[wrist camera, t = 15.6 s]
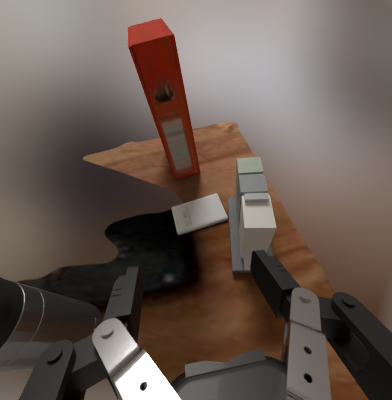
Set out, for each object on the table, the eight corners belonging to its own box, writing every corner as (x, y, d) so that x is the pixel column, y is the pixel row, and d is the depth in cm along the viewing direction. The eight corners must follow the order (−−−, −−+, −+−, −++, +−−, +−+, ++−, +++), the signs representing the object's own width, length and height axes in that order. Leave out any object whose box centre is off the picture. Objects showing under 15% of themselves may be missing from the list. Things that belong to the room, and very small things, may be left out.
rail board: (232, 272, 37) (233, 242, 26) (227, 200, 48) (227, 157, 37) (274, 273, 36) (294, 241, 25) (260, 199, 47) (269, 154, 36)
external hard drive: (228, 221, 45) (178, 236, 45) (217, 196, 50) (172, 209, 50) (228, 217, 44) (177, 233, 44) (216, 192, 49) (170, 206, 49)
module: (240, 257, 37) (244, 225, 27) (238, 230, 40) (241, 192, 30) (265, 258, 36) (278, 224, 26) (261, 230, 40) (271, 191, 30)
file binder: (174, 180, 56) (127, 45, 31) (166, 146, 66) (127, 26, 41) (200, 173, 56) (175, 33, 31) (188, 140, 67) (163, 17, 42)
